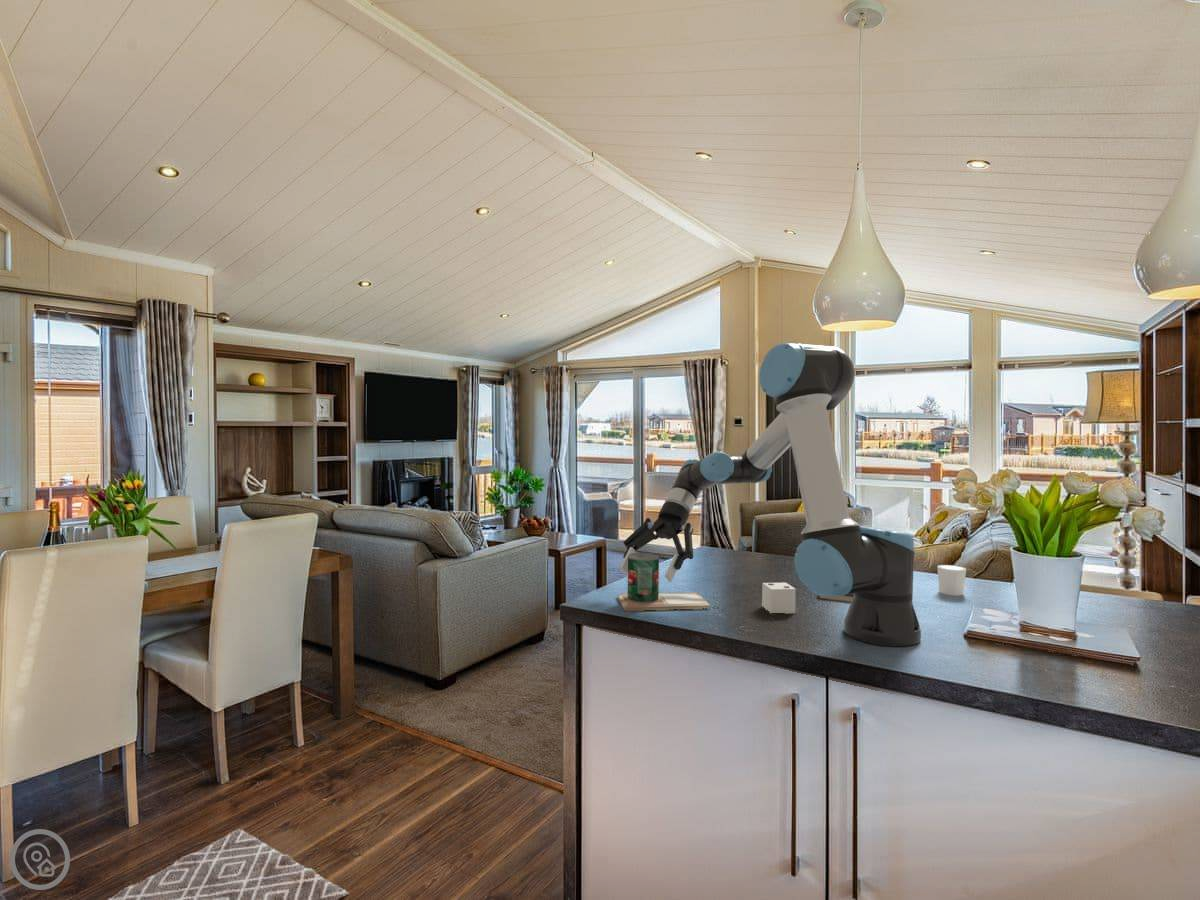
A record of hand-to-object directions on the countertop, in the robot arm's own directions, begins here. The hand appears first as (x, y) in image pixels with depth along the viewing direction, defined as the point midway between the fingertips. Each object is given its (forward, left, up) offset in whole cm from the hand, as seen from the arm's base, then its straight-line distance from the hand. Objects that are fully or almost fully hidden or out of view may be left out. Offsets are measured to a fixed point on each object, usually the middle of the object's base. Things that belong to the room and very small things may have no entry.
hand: (644, 574), depth 161 cm
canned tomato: (-1, +1, -6) cm, 6 cm away
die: (-9, -32, -7) cm, 33 cm away
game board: (-1, -5, -7) cm, 8 cm away
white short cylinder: (+2, -84, -7) cm, 85 cm away
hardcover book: (+6, -59, -8) cm, 60 cm away
